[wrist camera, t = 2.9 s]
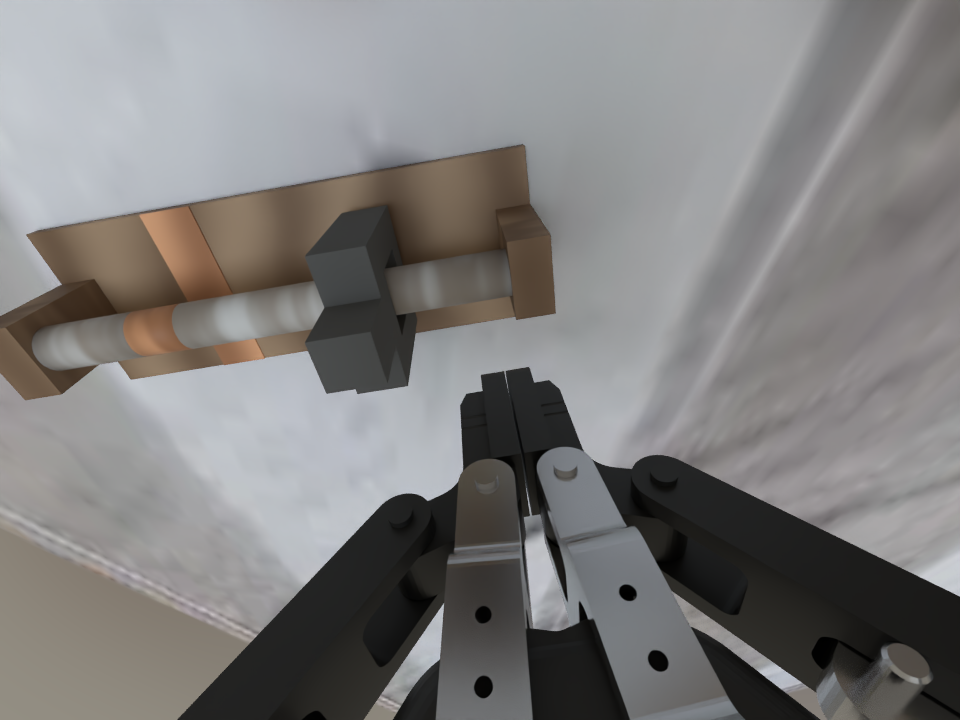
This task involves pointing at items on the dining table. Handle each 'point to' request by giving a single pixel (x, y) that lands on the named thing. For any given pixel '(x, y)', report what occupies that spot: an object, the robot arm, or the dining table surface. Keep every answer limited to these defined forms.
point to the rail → (274, 271)
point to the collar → (359, 306)
